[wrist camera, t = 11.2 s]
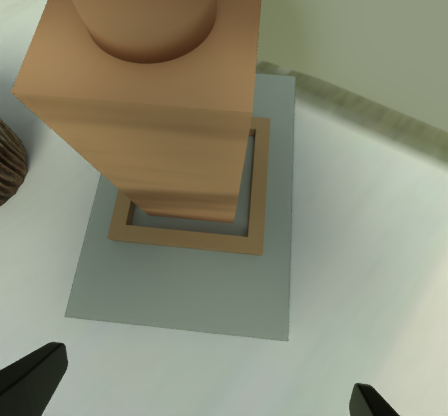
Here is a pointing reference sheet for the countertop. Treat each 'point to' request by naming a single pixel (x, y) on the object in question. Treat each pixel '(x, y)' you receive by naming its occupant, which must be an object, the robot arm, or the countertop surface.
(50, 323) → the countertop surface
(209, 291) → the base slab
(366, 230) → the countertop surface
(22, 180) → the cupcake
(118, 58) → the terracotta block
